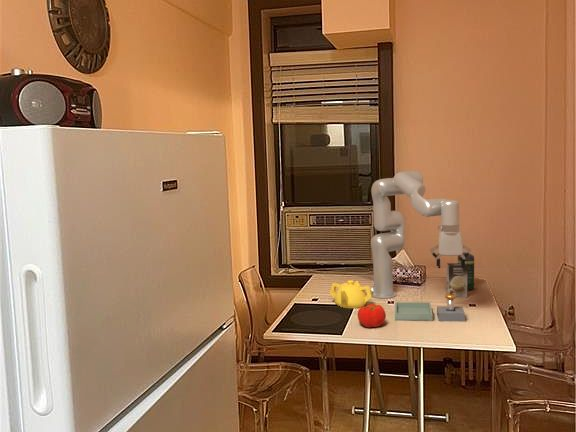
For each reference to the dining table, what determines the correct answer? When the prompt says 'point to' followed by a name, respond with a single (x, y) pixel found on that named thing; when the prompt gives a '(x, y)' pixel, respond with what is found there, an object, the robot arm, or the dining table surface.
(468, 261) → the coffee jar
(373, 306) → the tomato
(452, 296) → the orange knob peg
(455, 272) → the coffee box
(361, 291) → the teapot
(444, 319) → the grey square hole block
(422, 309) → the tray
